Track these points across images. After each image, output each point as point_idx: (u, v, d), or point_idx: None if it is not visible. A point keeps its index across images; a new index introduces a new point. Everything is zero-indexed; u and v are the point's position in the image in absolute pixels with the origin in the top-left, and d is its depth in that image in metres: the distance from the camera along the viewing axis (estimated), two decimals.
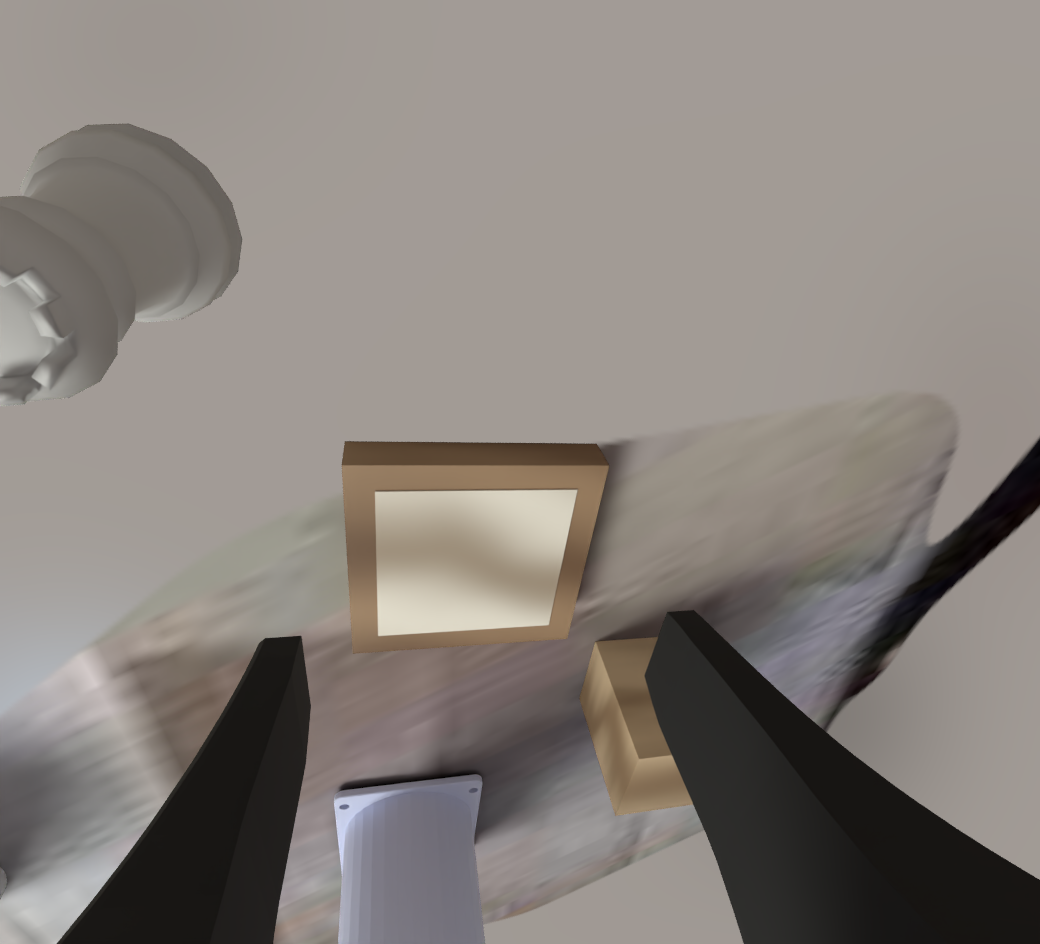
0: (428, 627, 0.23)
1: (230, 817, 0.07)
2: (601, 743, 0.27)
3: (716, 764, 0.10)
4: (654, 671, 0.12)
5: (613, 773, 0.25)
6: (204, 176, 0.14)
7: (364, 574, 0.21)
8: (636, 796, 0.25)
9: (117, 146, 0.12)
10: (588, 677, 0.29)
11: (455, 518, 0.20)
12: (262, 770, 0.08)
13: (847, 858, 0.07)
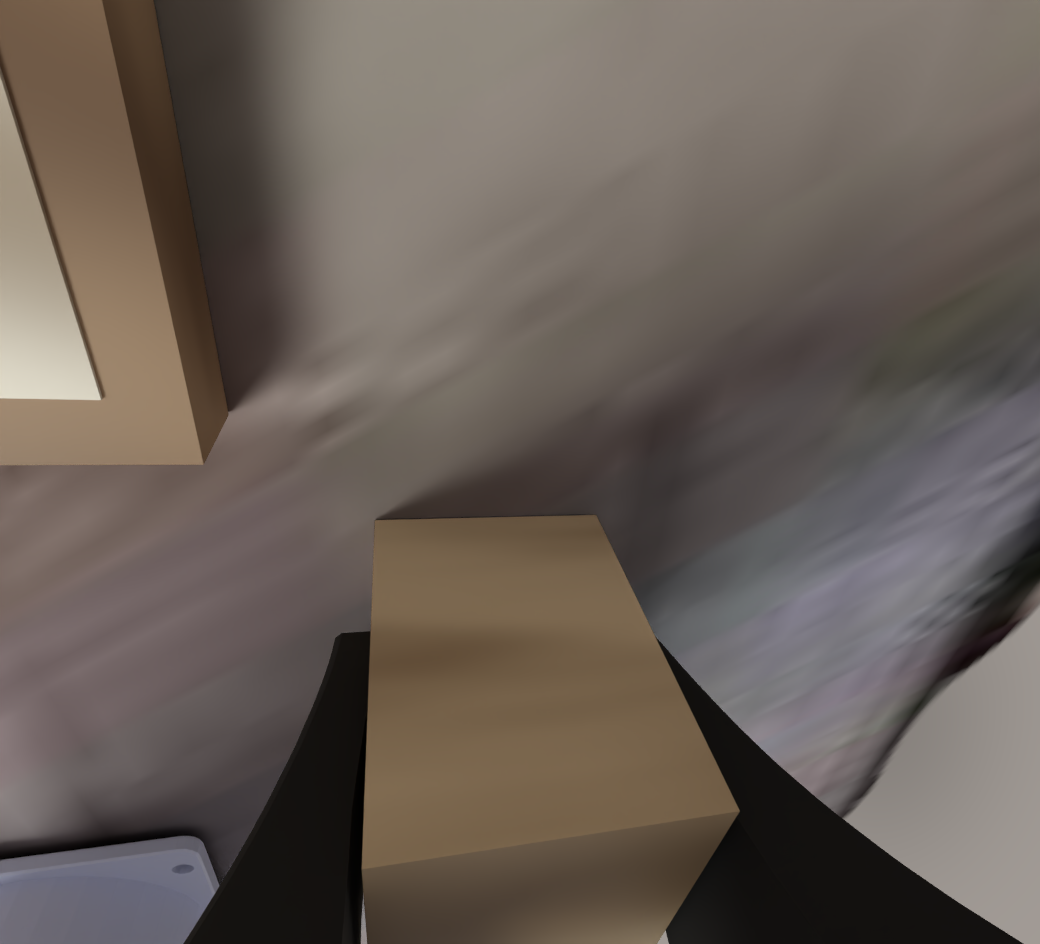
0: None
1: (340, 803, 0.07)
2: None
3: None
4: None
5: None
6: None
7: None
8: None
9: None
10: None
11: None
12: (359, 759, 0.08)
13: (758, 875, 0.07)
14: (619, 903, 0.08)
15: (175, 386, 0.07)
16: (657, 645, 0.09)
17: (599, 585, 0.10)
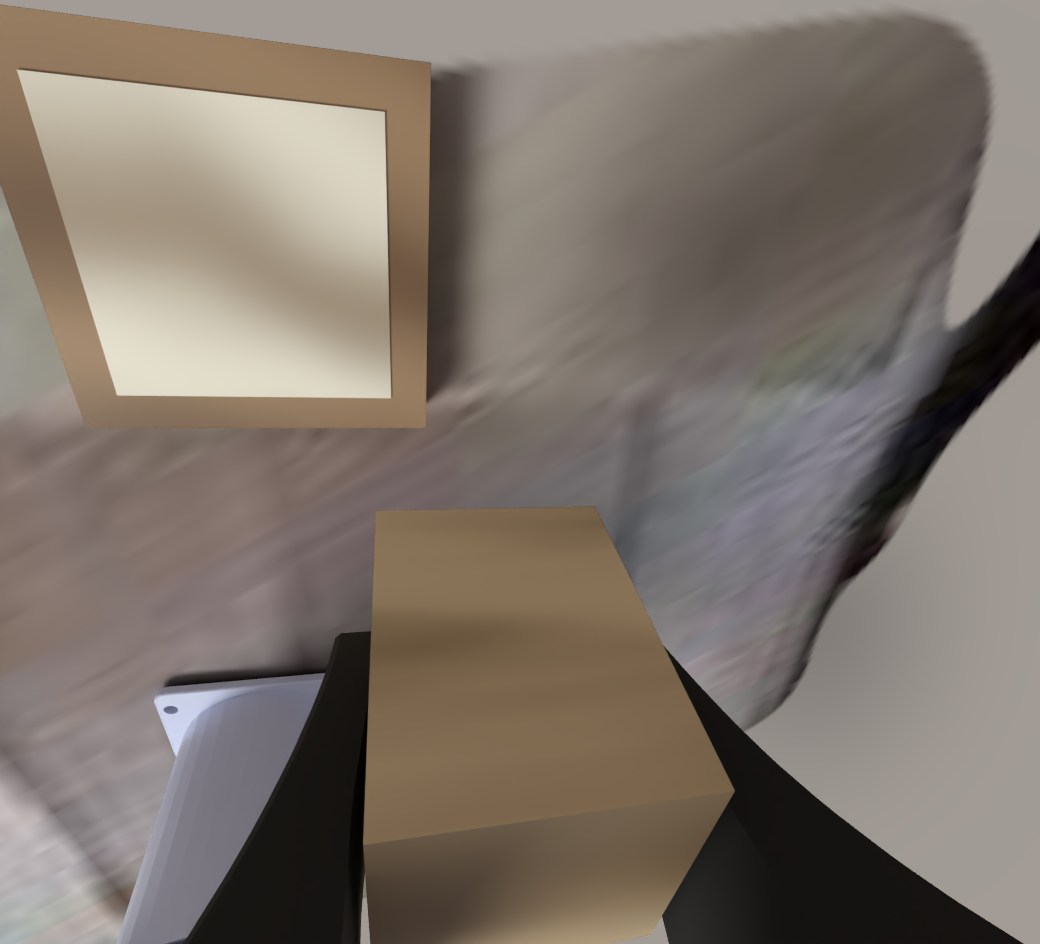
0: (197, 385, 0.15)
1: (340, 803, 0.07)
2: None
3: None
4: None
5: None
6: None
7: (57, 264, 0.13)
8: (418, 943, 0.08)
9: None
10: None
11: (182, 152, 0.12)
12: (359, 759, 0.08)
13: (759, 876, 0.07)
14: (617, 884, 0.08)
15: (421, 391, 0.16)
16: (654, 632, 0.09)
17: (597, 573, 0.10)
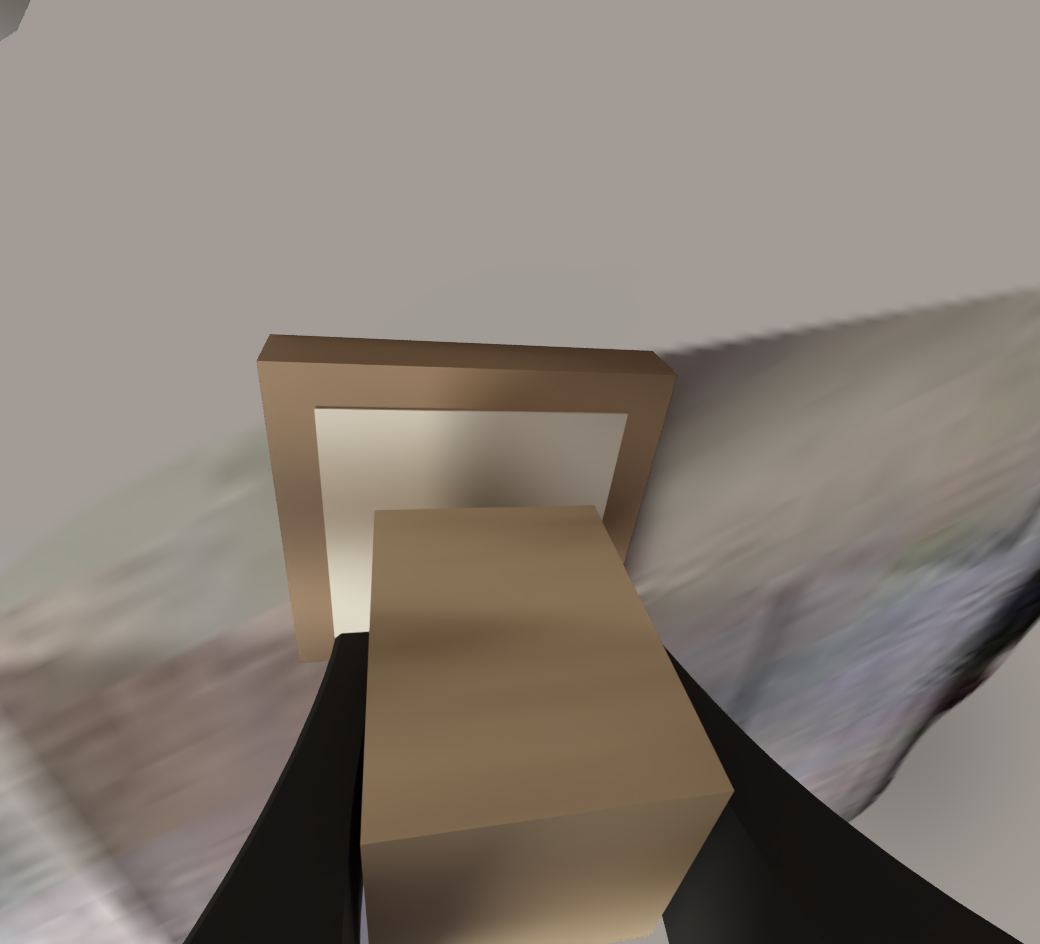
0: None
1: (340, 803, 0.07)
2: None
3: None
4: None
5: None
6: None
7: (308, 544, 0.14)
8: (417, 943, 0.08)
9: None
10: None
11: (442, 457, 0.13)
12: (359, 759, 0.08)
13: (758, 875, 0.07)
14: (616, 885, 0.08)
15: None
16: (654, 631, 0.09)
17: (596, 573, 0.10)
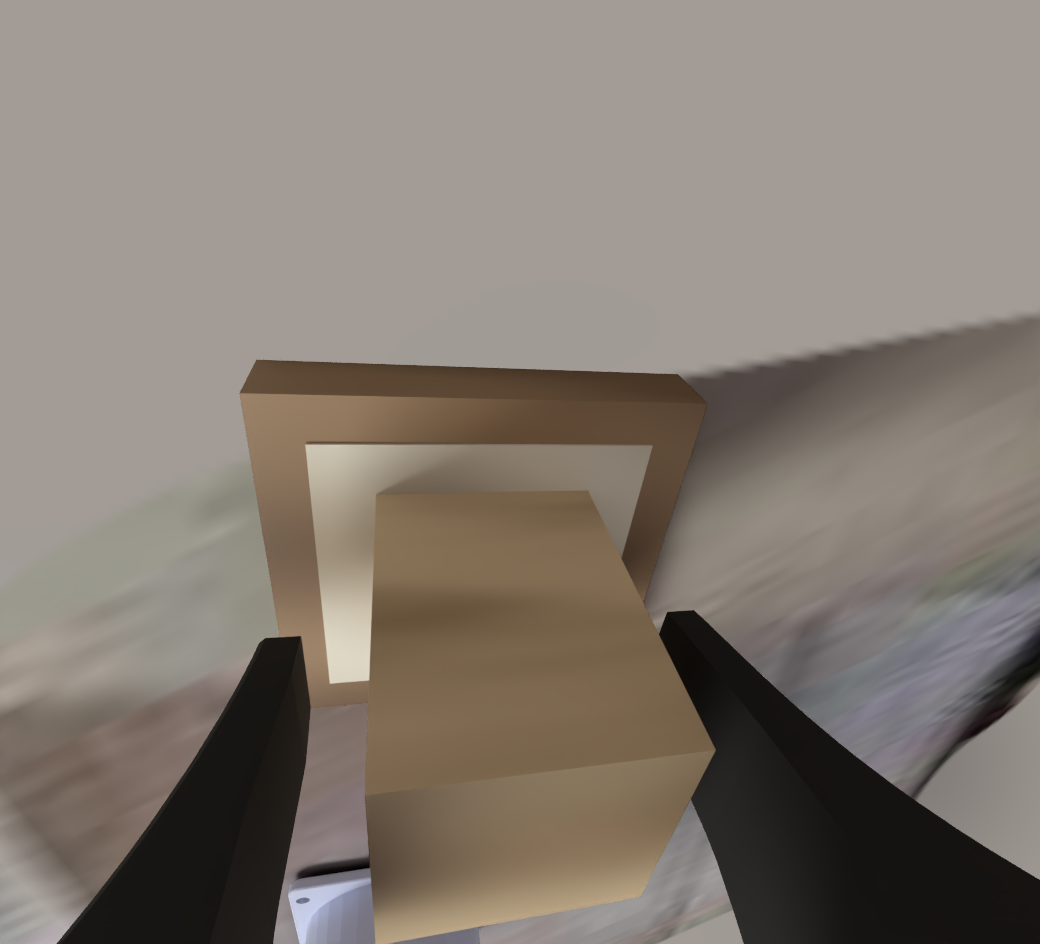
0: None
1: (230, 817, 0.07)
2: None
3: (716, 764, 0.10)
4: None
5: None
6: None
7: (300, 588, 0.12)
8: (417, 898, 0.08)
9: None
10: None
11: None
12: (262, 770, 0.08)
13: (847, 858, 0.07)
14: (606, 843, 0.08)
15: None
16: (643, 607, 0.10)
17: (588, 553, 0.11)
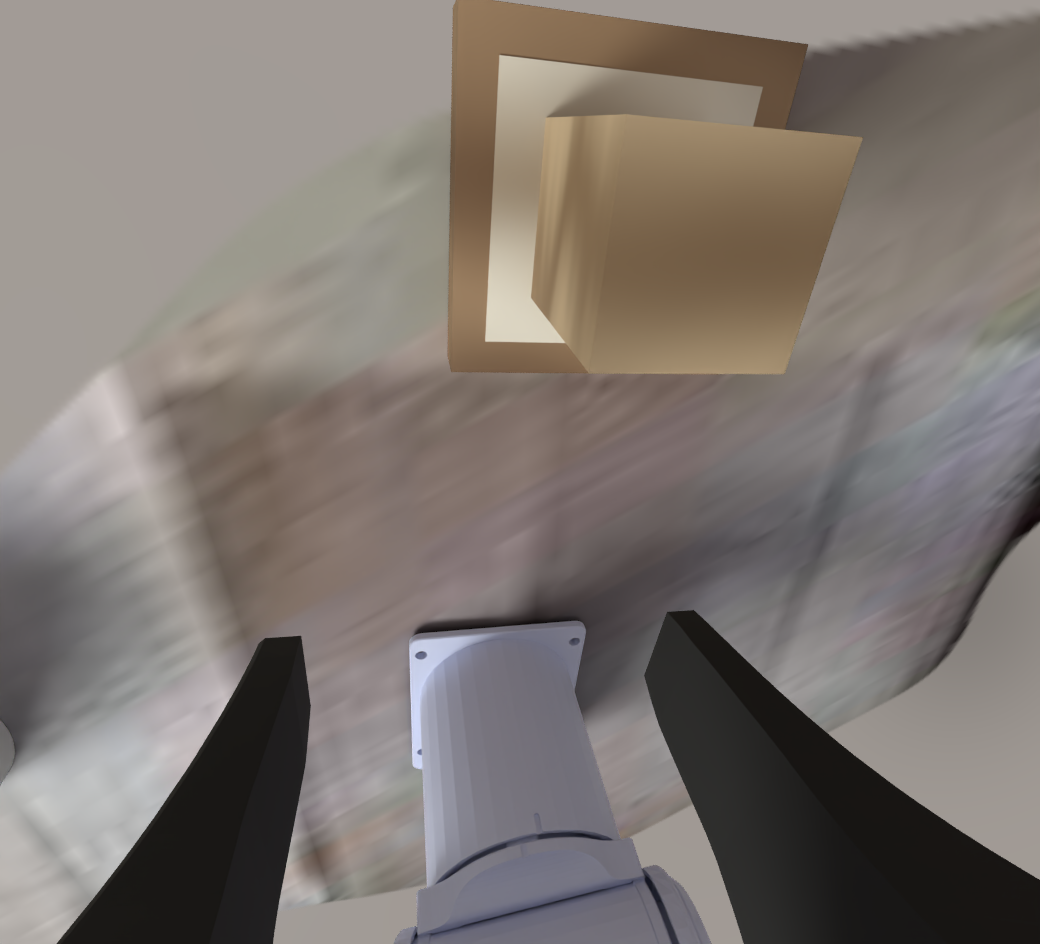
0: (549, 332, 0.17)
1: (230, 817, 0.07)
2: (561, 288, 0.13)
3: (716, 764, 0.10)
4: (654, 671, 0.12)
5: (582, 291, 0.12)
6: None
7: (475, 222, 0.15)
8: (631, 301, 0.11)
9: None
10: (540, 220, 0.15)
11: None
12: (262, 770, 0.08)
13: (847, 859, 0.07)
14: (771, 264, 0.11)
15: None
16: None
17: None
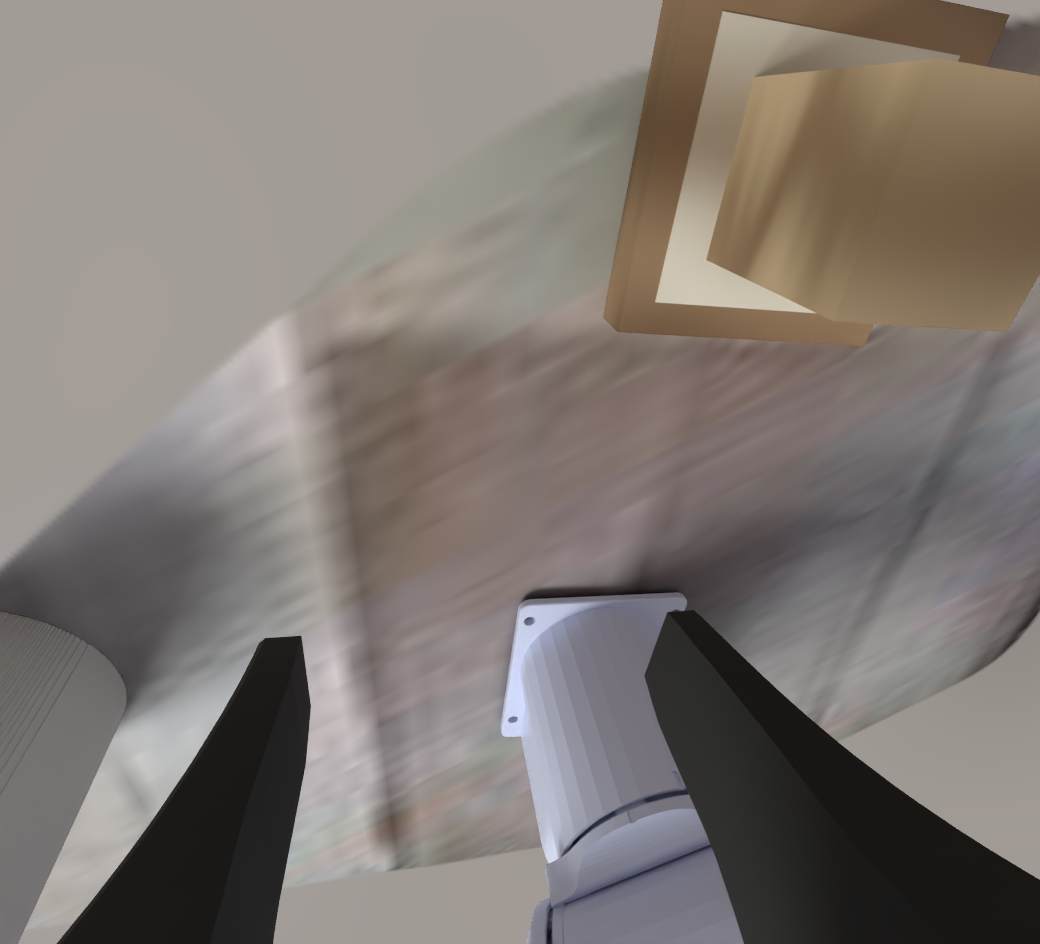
0: (716, 296, 0.18)
1: (230, 817, 0.07)
2: (778, 243, 0.14)
3: (716, 764, 0.10)
4: (654, 671, 0.12)
5: (824, 242, 0.12)
6: None
7: (668, 180, 0.16)
8: (891, 250, 0.11)
9: None
10: (733, 180, 0.15)
11: None
12: (262, 770, 0.08)
13: (847, 858, 0.07)
14: (1025, 218, 0.11)
15: None
16: None
17: None
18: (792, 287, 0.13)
